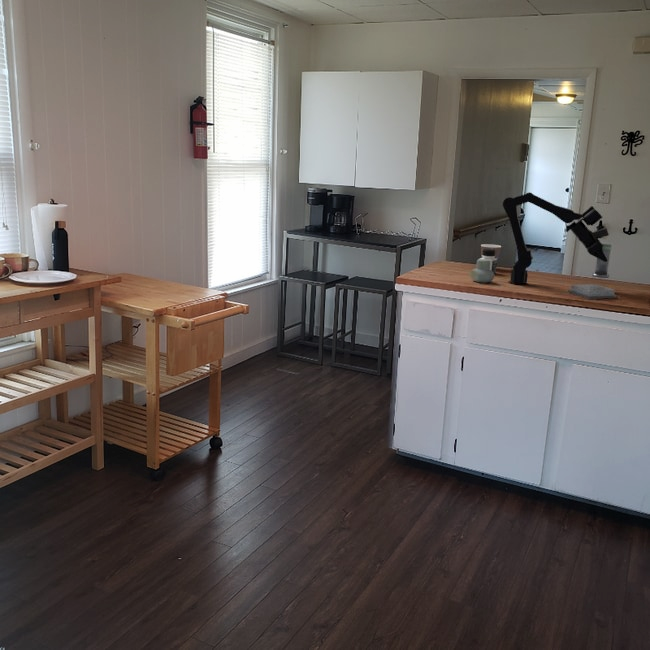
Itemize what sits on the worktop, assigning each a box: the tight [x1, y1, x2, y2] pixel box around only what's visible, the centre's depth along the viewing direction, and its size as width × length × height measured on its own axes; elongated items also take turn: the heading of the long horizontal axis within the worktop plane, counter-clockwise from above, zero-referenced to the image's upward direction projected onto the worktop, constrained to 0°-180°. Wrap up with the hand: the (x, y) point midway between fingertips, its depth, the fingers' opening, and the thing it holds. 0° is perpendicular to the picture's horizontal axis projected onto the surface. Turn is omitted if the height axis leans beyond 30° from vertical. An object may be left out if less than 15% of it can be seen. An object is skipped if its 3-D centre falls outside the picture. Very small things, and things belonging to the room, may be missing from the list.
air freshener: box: [470, 258, 496, 284], centre depth 304 cm, size 11×8×10 cm
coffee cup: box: [480, 243, 502, 264], centre depth 342 cm, size 10×10×12 cm
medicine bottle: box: [479, 248, 498, 274], centre depth 329 cm, size 7×7×12 cm
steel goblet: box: [591, 243, 612, 279], centre depth 291 cm, size 7×7×14 cm
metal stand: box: [567, 283, 618, 300], centre depth 283 cm, size 14×14×4 cm
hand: (606, 260), depth 291 cm, fingers closed on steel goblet, 5 cm apart
